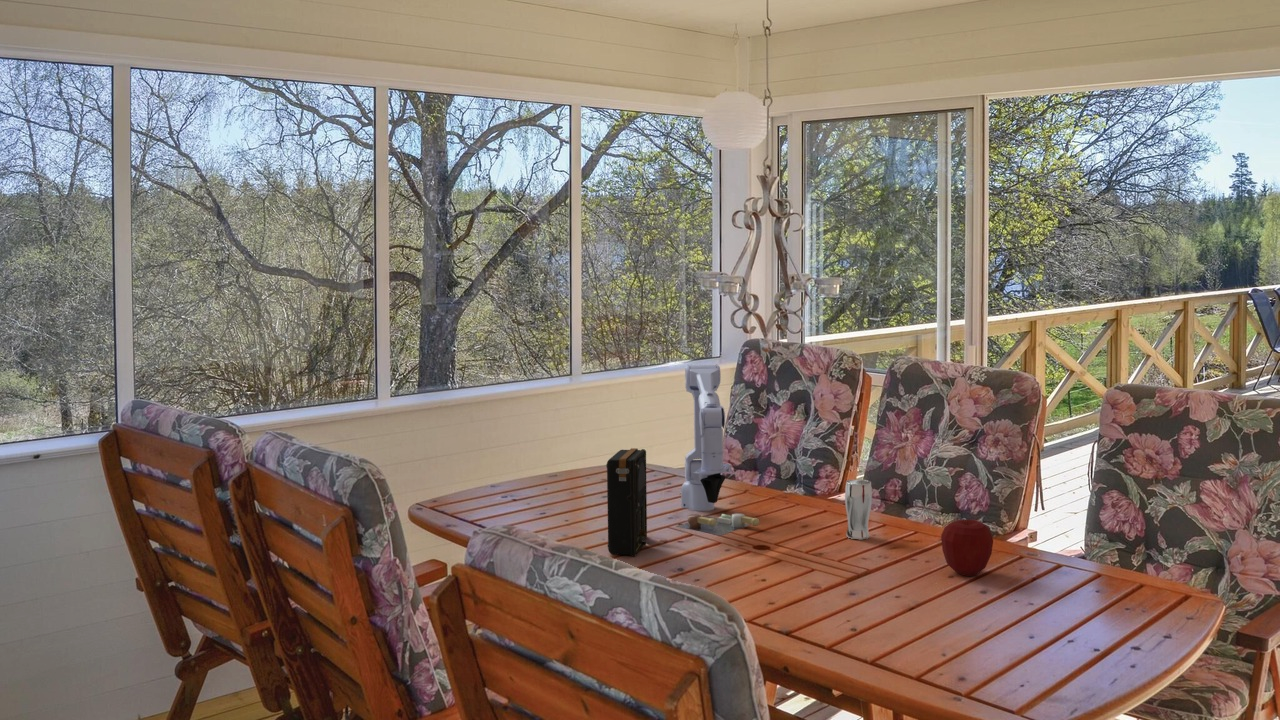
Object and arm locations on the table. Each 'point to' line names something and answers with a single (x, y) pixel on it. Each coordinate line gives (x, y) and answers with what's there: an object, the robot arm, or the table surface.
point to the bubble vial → (725, 519)
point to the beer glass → (858, 508)
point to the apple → (967, 546)
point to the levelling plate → (714, 528)
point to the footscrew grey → (743, 520)
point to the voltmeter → (627, 501)
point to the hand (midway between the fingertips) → (712, 502)
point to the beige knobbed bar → (699, 521)
